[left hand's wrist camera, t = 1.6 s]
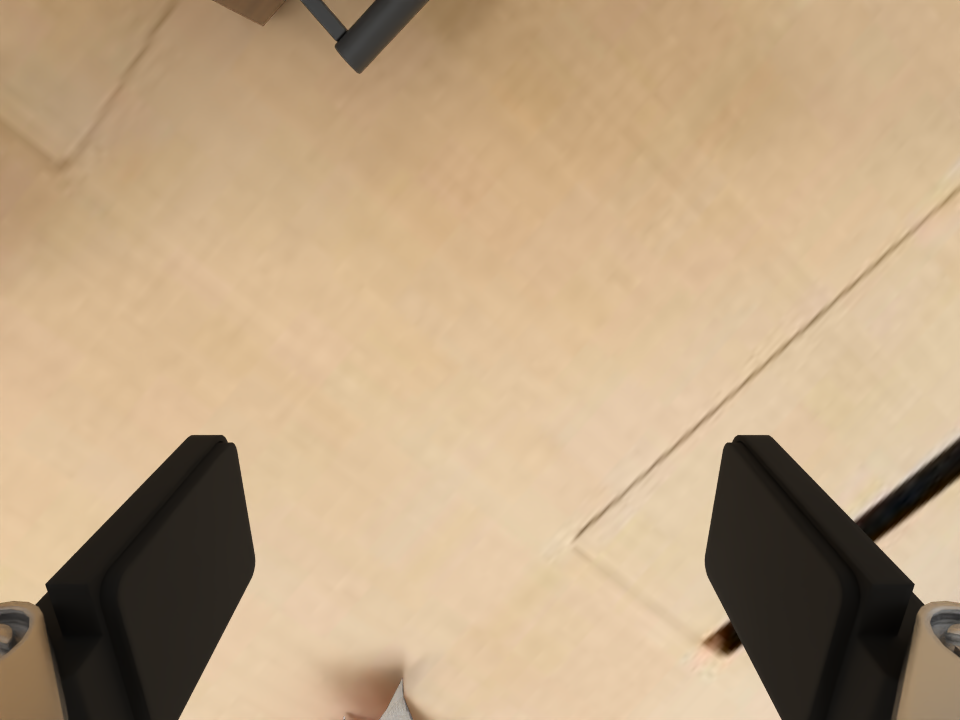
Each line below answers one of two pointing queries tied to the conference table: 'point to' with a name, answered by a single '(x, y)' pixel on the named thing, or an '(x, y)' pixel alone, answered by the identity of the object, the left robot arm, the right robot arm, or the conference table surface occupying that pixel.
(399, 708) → the fish
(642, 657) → the conference table surface
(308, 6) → the drawer
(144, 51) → the conference table surface
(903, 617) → the left robot arm
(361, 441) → the conference table surface
